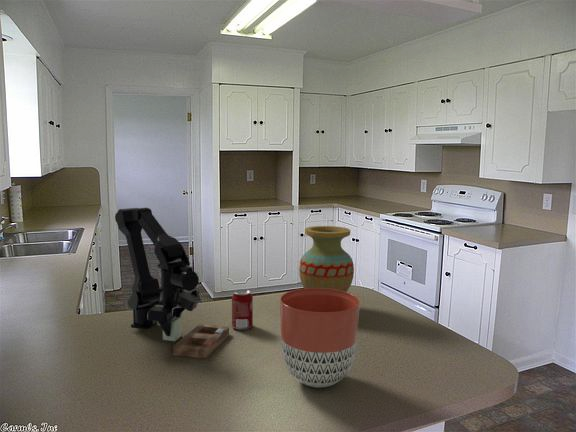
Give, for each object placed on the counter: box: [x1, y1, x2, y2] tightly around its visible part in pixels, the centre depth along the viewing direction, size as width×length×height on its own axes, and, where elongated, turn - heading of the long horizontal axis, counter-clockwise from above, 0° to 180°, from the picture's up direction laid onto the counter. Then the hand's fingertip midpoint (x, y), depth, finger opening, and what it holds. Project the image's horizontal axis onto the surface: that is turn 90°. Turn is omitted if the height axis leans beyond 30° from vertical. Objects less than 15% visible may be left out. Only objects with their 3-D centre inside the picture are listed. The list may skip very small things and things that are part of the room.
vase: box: [298, 225, 355, 292], centre depth 167 cm, size 20×20×30 cm
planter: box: [279, 287, 361, 389], centre depth 114 cm, size 20×20×21 cm
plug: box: [162, 317, 182, 342], centre depth 141 cm, size 4×4×6 cm
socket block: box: [172, 323, 230, 360], centre depth 137 cm, size 10×18×3 cm, turn 167°
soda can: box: [231, 288, 254, 331], centre depth 150 cm, size 7×7×12 cm
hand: (171, 333), depth 141 cm, fingers open, 4 cm apart
